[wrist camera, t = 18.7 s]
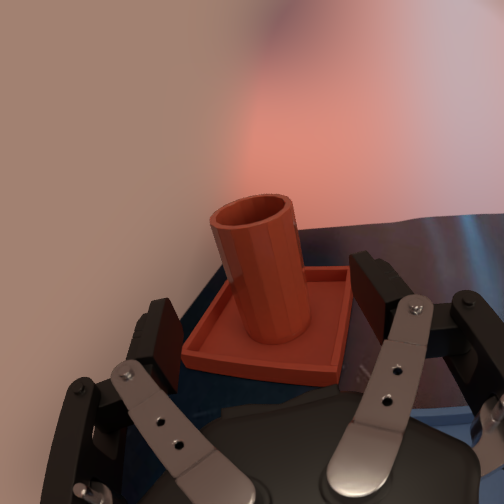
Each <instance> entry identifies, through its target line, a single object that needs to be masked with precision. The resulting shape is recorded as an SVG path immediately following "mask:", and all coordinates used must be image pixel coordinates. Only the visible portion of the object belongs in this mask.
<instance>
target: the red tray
mask: <svg viewBox="0 0 504 504" xmlns="http://www.w3.org/2000/svg"><path fill="white" fill-rule="evenodd" d="M304 269H305V274H306V280H307V286H308V292H309V299H310V305H311V315H312V319H311V323H310V325H309V327H308V328H307V330H306V331H305V332H304V333H303V334H302V335H300V336H299V337H297V338H296V339H294V340H292V341H289V342H286V343H282V344H277V345H267V344H262V343H259V342H256V341H254V340H253V339H251V338H250V337H249V336H248V334H247V333H246V330H245V328H244V326H243V323H242V320H241V317H240V314H239V311H238V308H237V305H236V302H235V299H234V296H233V293H232V290H231V287H230V284H229V281H228V279H227V280H226V282H225V283H224V285H223V286H222V288H221V289H220V291H219V292H218V294H217V295H216V297H215V298H214V300H213V301H212V303H211V304H210V306H209V307H208V309H207V310H206V312H205V313H204V315H203V316H202V318H201V319H200V321H199V322H198V324H197V325H196V327H195V328H194V330H193V331H192V333H191V334H190V336H189V337H188V339H187V340H186V342H185V343H184V345H183V346H182V352H181V359H182V361H183V363H184V364H185V366H186V368H190V369H195V370H200V371H205V372H211V373H216V374H222V375H228V376H234V377H240V378H247V379H254V380H261V381H269V382H277V383H286V384H296V385H307V386H319V387H326V386H330V385H333V384H337V385H338V383H339V378H340V373H341V368H342V363H343V357H344V352H345V346H346V340H347V334H348V328H349V321H350V314H351V307H352V300H353V293H352V289H351V281H350V266H324V267H304Z"/></svg>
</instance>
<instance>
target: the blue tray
mask: <svg viewBox="0 0 504 504" xmlns="http://www.w3.org/2000/svg"><path fill="white" fill-rule="evenodd" d="M410 416H411V417H413V418H415V419H417V420H419V421H421V422H423V423H425V424H427V425H429V426H431V427H433V428H436V429H438V430H440V431H442V432H444V433H446V434H448V435H451V436H453V437H455V438H457V439H459V440H461V441H463V442H465V443H466V444H468V445H469V446H470V447H471V445H472V440H471V436H470V426H471V423H472V421H473V420H474V416H473V414H472V411H471V409H470V407H469V406H460V407H447V408H428V409H412V410H411V413H410ZM479 504H504V470H502V469H501V470H499V471H497V472H496V473H494V474H492V475H491V476H489V477H487V478H485V479H484V480H482V481H480V487H479Z"/></svg>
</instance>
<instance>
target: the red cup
mask: <svg viewBox="0 0 504 504" xmlns="http://www.w3.org/2000/svg"><path fill="white" fill-rule="evenodd" d="M210 226H211V229H212V232H213V235H214V238H215V241H216V244H217V248H218V251H219V254H220V257H221V260H222V263H223V266H224V269H225V272H226V275H227V278H228V281H229V284H230V287H231V290H232V293H233V296H234V299H235V302H236V305H237V308H238V311H239V314H240V317H241V320H242V323H243V326H244V328H245V330H246V333H247V334H248V336H249V337H250V338H251V339H253V340H254V341H256V342H259V343H262V344H267V345H277V344H282V343H286V342H289V341H292V340H294V339H296V338H297V337H299V336H300V335H302V334H303V333H304V332H305V331H306V330H307V328H308V327H309V325H310V323H311V319H312V315H311V305H310V299H309V292H308V286H307V280H306V274H305V269H304V263H303V257H302V251H301V246H300V240H299V235H298V230H297V224H296V219H295V214H294V209H293V204H292V201H291V200H290V199H289V198H288V197H287V196H284V195H280V194H261V195H255V196H249V197H246V198H242V199H238V200H236V201H233V202H231V203H229V204H226V205H224V206H223V207H221V208H220V209H218V210H217V211H215V212H214V213H213V215H212V216H211V217H210Z"/></svg>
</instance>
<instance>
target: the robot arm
mask: <svg viewBox="0 0 504 504" xmlns="http://www.w3.org/2000/svg"><path fill="white" fill-rule="evenodd" d="M349 265H350V281H351V289H352V293H353V295H354V298H355V299H356V301H357V303H358V305H359V306H360V308H361V310H362V312H363V313H364V315H365V317H366V319H367V320H368V322H369V324H370V326H371V328H372V329H373V331H374V333H375V335H376V337H377V338H378V340H379V342H380V344H381V346H382V348H381V350H380V353H379V356H378V359H377V361H376V364H375V367H374V369H373V372H372V375H371V377H370V380H369V382H368V385H367V387H366V390H365V392H364V394H363V393H359V392H353V391H340V390H339V387H338V385H337V384H333V385H330V386H326V387H323V388H319V389H315V390H311V391H308V392H306V393H304V394H302V395H300V396H297V397H295V398H293V399H291V400H289V401H287V402H284V403H282V404H246V405H241V406H235V407H229V408H222V409H221V417H220V418H218V419H216V420H213V421H212V422H210V423H208V424H207V425H205V426H204V427H203V428H202V429H200V430H198V429H197V428H196V427H195V426H194V425H193V424H192V423H191V422H190V421H189V420H188V419H187V417H186V416H185V415H184V414H183V413H182V412H181V411H180V410H179V409H178V407H177V406H176V405H175V404H174V403H173V402H172V401H171V399H170V398H169V397H168V395H169V394H177V388H178V379H179V370H180V361H181V352H182V344H183V328H182V325H181V323H180V320H179V318H178V316H177V314H176V312H175V310H174V308H173V306H172V304H171V301H170V300H169V298H163V299H158V300H154V301H151V303H150V306H149V310H148V313H145V314H143V315H142V316H141V318H140V319H139V320H138V322H137V324H136V327H135V330H134V331H135V332H134V334H133V339H132V340H131V344H130V347H129V350H128V354H127V357H126V361H123V362H121V363H120V364H119V365H117V366H116V367H115V368H114V370H113V371H112V374H111V378H110V379H107V380H105V381H102V382H99V383H97V384H95V383H94V382H93V381H92V379H90V378H88V377H81V378H79V379H77V380H75V381H74V382H73V383H72V384H71V385H70V386H69V388H68V390H67V393H66V396H65V399H64V402H63V406H62V409H61V413H60V416H59V420H58V423H57V427H56V431H55V435H54V439H53V442H52V446H51V451H50V455H49V460H48V464H47V468H46V474H45V479H44V484H43V489H42V495H41V501H40V504H128V502H127V500H126V499H125V497H124V496H122V495H121V488H122V474H123V462H124V452H125V443H126V434H127V426H130V425H133V424H135V425H136V427H137V428H138V430H139V431H140V433H141V434H142V436H143V437H144V439H145V440H146V441H147V443H148V444H149V446H150V447H151V449H152V450H153V451H154V453H155V454H156V455H157V457H158V458H159V460H160V461H161V462H162V464H163V465H164V466H165V467H166V469H167V470H166V471H165V472H164V473H163V474H162V476H161V477H160V478H159V479H158V480H157V481H156V482H155V484H154V485H153V486H152V487H151V488H150V489H149V491H148V492H147V493H146V494H145V495H144V496H143V497H142V498H141V500H140V501H139V502H138V503H137V504H479V487H480V481H482V480H484V479H485V478H487V477H489V476H491V475H492V474H494V473H496V472H497V471H499V470H501V469H502V470H504V323H503V321H502V320H501V319H500V318H499V317H498V315H497V314H496V313H495V312H494V310H493V309H492V308H491V307H490V306H489V304H488V303H487V302H486V301H485V300H484V299H483V297H482V296H481V295H479V294H478V293H476V292H474V291H470V290H462V291H459V292H457V293H456V294H455V295H454V296H453V299H452V303H443V304H433V303H432V302H431V300H430V299H428V298H427V297H425V296H422V295H416V294H414V293H413V292H412V290H411V289H410V288H409V287H408V285H407V284H406V283H405V282H404V281H403V279H402V278H401V277H399V275H398V273H397V272H396V271H395V270H394V269H393V268H392V266H391V265H390V264H389V263H387V262H386V261H384V260H382V259H380V258H379V259H376V260H374V259H373V258H372V257H371V255H370V254H369V253H368V252H367V251H366V250H365V251H361V252H358V253H354V254H350V255H349ZM435 357H443V359H444V361H445V362H446V364H447V366H448V368H449V370H450V371H451V373H452V375H453V377H454V379H455V380H456V382H457V384H458V386H459V388H460V390H461V392H462V394H463V396H464V398H465V400H466V401H467V403H468V405H469V407H470V409H471V411H472V414H473V416H474V420H473V421H472V423H471V426H470V436H471V440H472V445H471V447H470V446H469V445H468V444H466V443H465V442H463V441H461V440H459V439H457V438H455V437H453V436H451V435H448V434H446V433H444V432H442V431H440V430H438V429H436V428H433V427H431V426H429V425H427V424H425V423H423V422H421V421H419V420H417V419H415V418H413V417H411V416H410V413H411V410H412V407H413V403H414V400H415V396H416V393H417V389H418V385H419V381H420V377H421V373H422V369H423V364H424V360H425V358H435ZM94 426H95V431H94V435H93V440H92V433H93V427H94Z"/></svg>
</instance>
